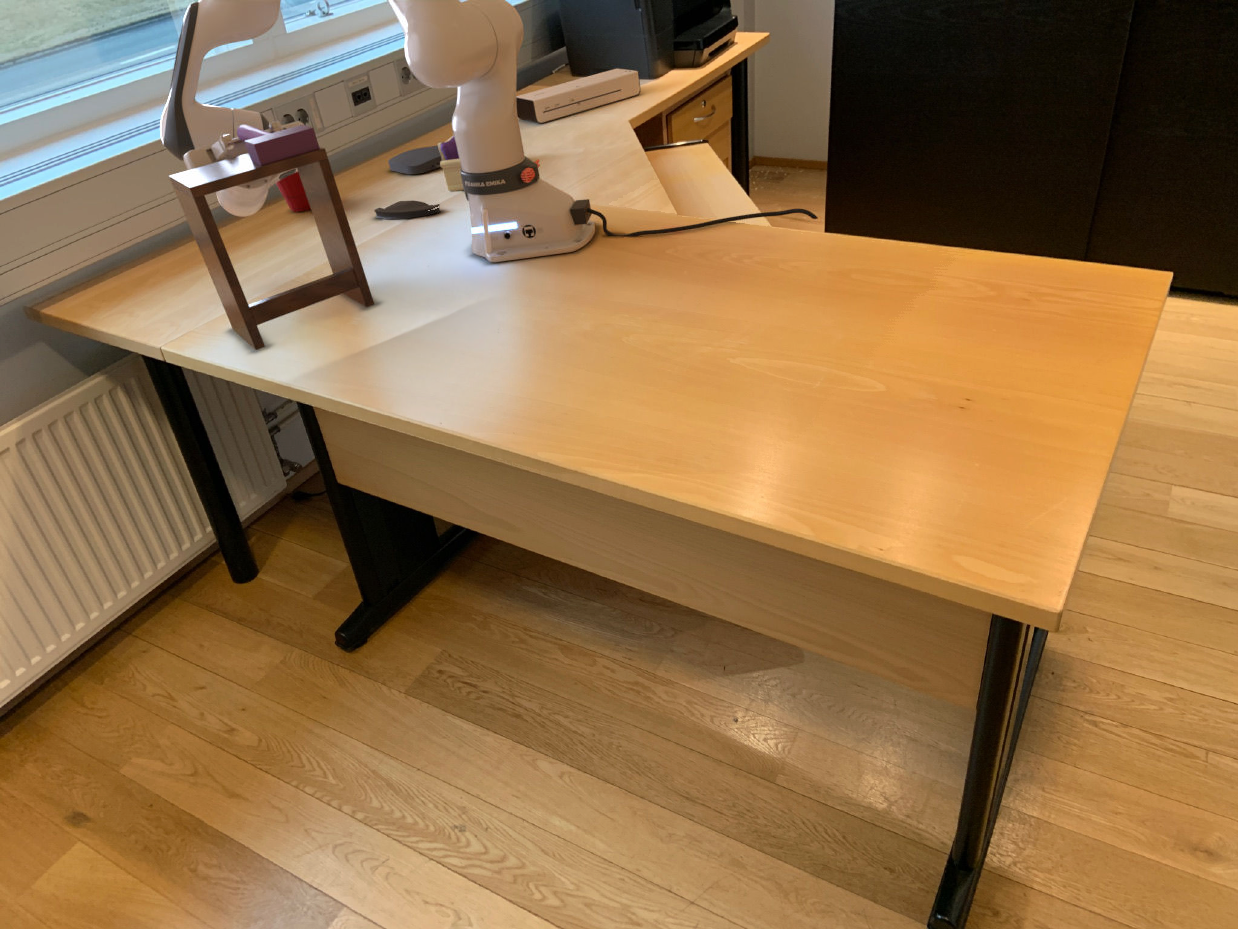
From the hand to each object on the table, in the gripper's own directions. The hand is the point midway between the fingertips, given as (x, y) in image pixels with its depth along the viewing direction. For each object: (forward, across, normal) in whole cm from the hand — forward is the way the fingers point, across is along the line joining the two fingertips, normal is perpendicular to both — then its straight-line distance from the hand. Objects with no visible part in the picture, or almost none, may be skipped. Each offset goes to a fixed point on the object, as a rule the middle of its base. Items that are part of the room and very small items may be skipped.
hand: (252, 132), depth 140 cm
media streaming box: (-62, +52, -5) cm, 81 cm away
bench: (-4, -5, +29) cm, 29 cm away
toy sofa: (-42, +54, +7) cm, 68 cm away
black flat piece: (-34, +31, +11) cm, 47 cm away
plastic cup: (-59, +19, -3) cm, 62 cm away
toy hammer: (+5, 0, +5) cm, 6 cm away
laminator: (-70, +105, -9) cm, 126 cm away
